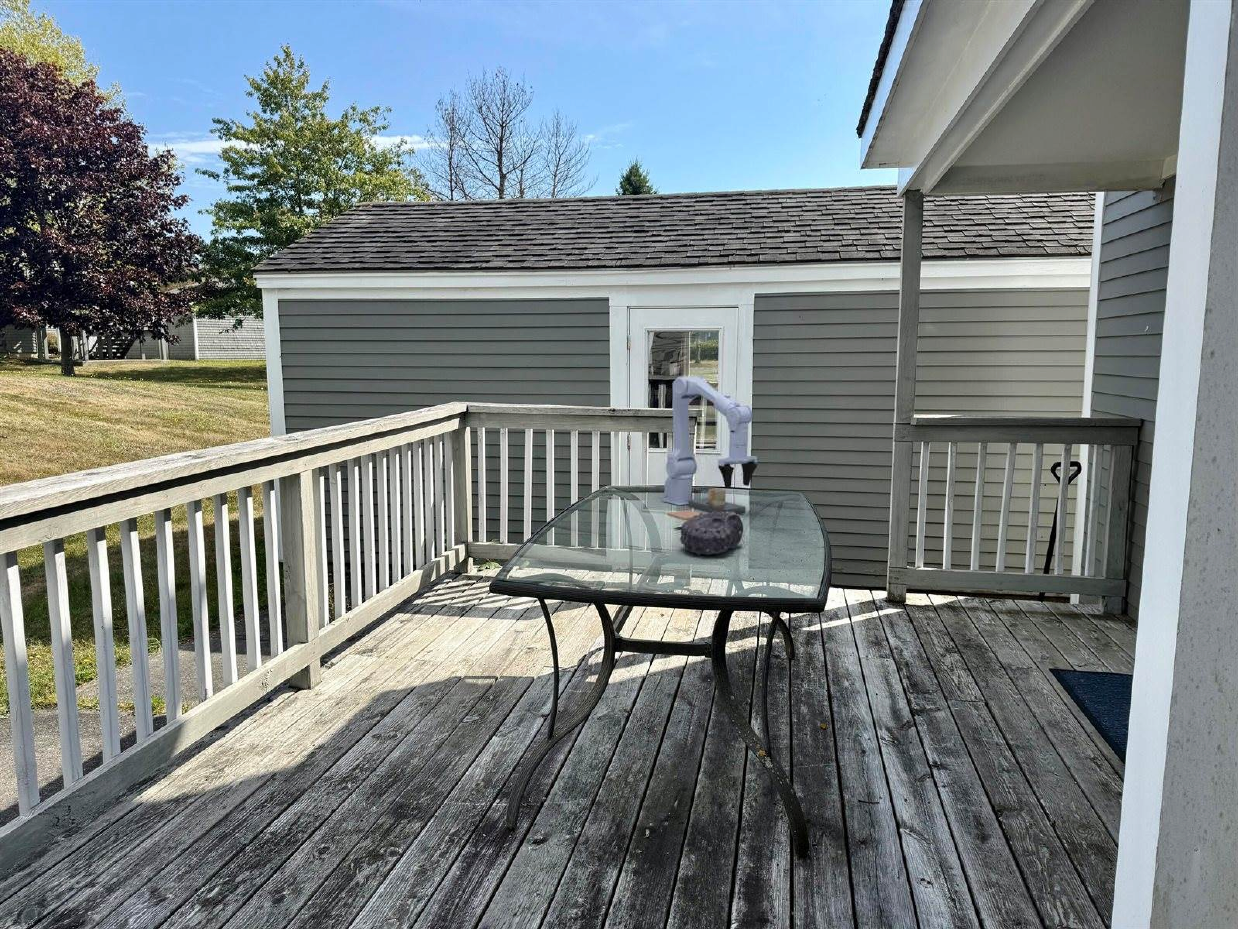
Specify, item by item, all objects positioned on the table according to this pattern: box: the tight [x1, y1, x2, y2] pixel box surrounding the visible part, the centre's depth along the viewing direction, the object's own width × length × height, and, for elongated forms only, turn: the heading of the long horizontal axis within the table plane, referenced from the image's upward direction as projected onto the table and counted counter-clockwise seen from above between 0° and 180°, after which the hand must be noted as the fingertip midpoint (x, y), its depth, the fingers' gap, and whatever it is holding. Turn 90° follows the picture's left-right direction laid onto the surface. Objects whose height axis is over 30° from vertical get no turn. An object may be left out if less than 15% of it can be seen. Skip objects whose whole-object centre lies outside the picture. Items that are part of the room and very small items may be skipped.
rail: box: [688, 497, 747, 515], centre depth 284 cm, size 18×9×2 cm, turn 36°
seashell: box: [678, 511, 744, 556], centre depth 232 cm, size 20×13×15 cm
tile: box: [666, 509, 701, 521], centre depth 275 cm, size 9×9×1 cm
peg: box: [707, 487, 727, 506], centre depth 283 cm, size 4×4×7 cm
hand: (737, 486), depth 272 cm, fingers open, 7 cm apart
